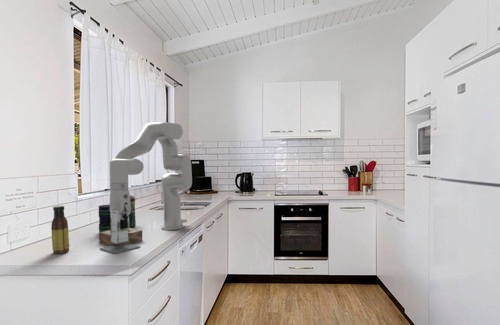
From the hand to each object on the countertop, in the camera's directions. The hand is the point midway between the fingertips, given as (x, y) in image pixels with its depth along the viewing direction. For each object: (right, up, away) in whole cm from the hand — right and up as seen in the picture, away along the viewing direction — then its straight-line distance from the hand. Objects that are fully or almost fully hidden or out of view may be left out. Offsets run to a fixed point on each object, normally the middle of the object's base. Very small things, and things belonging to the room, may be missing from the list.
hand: (119, 227), depth 141 cm
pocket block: (-4, -10, +12) cm, 16 cm away
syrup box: (0, -7, 0) cm, 7 cm away
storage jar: (-19, -10, +32) cm, 39 cm away
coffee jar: (-15, -10, +48) cm, 51 cm away
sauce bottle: (-24, -10, -5) cm, 26 cm away
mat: (0, -9, 0) cm, 9 cm away
